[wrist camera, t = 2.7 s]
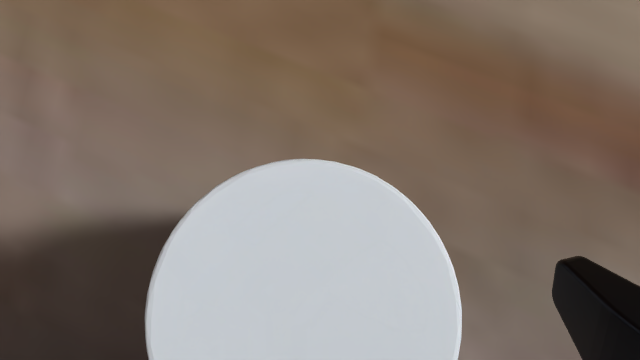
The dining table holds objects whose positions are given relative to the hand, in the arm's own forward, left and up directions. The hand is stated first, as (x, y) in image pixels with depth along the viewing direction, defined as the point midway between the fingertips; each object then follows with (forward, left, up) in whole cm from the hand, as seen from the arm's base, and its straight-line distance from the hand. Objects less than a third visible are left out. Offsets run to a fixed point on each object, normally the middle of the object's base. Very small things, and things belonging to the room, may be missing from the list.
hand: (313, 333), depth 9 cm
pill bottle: (0, 0, -8) cm, 8 cm away
